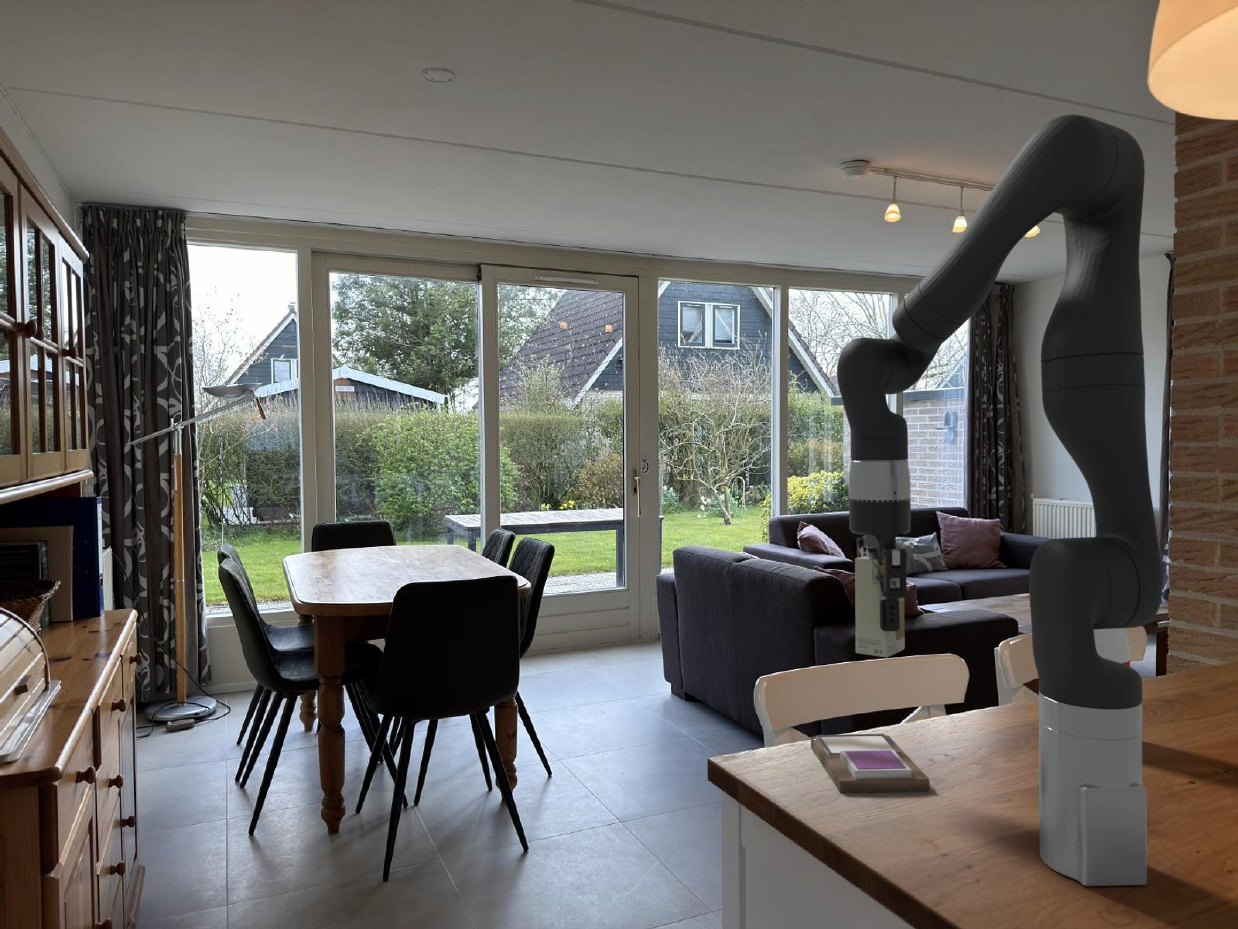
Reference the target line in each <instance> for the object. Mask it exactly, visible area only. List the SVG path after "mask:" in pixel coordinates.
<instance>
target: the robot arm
mask: <svg viewBox="0 0 1238 929" xmlns="http://www.w3.org/2000/svg"><path fill="white" fill-rule="evenodd" d="M1145 166H1146V165H1145V158H1144V154H1143V150H1142V148H1141V146H1140V144H1139V143H1138V141H1137V139H1136V137H1134V136H1132V135H1131V134H1130V133H1129V132H1128V131H1127V130H1125V129H1123V128H1120V127H1117V126H1116V125H1113V124H1112V125H1111V124H1109V123H1106V122H1103V121H1101V120H1097V119H1095V118H1093V117H1089V116H1085V115H1080V114H1064V115H1060V116H1058V117H1055V118H1053V119H1052V120H1050V121H1047V122H1046V123H1045V124H1043V125H1041V127H1040V128H1038V129H1037V130H1036V131H1035V132H1034V133H1033V134H1032V135H1031V137H1030V138H1029V139H1028V140H1027V141H1026V142H1025V144H1023V146H1022V147H1021V149H1020V150H1019V151H1018V153H1016V155H1015V157H1014V158H1013V160H1012V161H1011V162H1010V164H1009V165H1008V167H1007V168H1006V170H1005V171H1004V172H1003V174H1002V176H1001V177H1000V179H998V182H996V184H995V186H994V187H993V189H992V190H991V191H990V193H989V195H988V196H987V197H986V199H985V200H984V202H982V204H981V206H980V207H979V208H978V210H977V211H976V212H975V214H974V215H973V217H972V219H971V220H970V222H969V223H968V224H967V226H966V227H965V228H964V230H963V231H962V233H961V234H960V235H959V237H958V238H957V240H955V242H954V244H952V246H951V247H950V248H949V249H948V251H947V252H946V253H945V255H944V256H943V257H942V258H941V259H940V260H939V261H938V263H937V264H936V265H934V267H933V268H932V269H931V271H929V272H928V273H927V274H926V275H925V277H924V278H923V279H922V280H921V281H920V282H919V283H918V284H917V285H916V286H914V288H913V289H912V290H911V291H910V292H909V293H908V295H906V297H905V298H904V299H903V300H901V301H900V303H899V304H898V306H897V307H896V308H895V309H894V311H893V314H892V318H891V323H892V328H894V329H893V330H894V332H895V334H893V335H892V336H891V337H889V338H876V337H875V338H874V337H857V338H854V339H852V340H851V341H850V340H849V342H848V343H847V344H846V345H845V346H844V347H843V348H842V350H841V352H840V354H839V357H838V361H837V364H836V365H837V366H836V378H837V379H836V380H837V384H838V390H839V392H840V393H839V394H840V397H841V401H842V404H843V408H844V412H845V416H846V419H847V422H848V425H849V429H850V467H849V474H848V475H849V476H848V511H849V512H848V515H849V516H848V517H849V518H848V519H849V520H848V522H849V523H848V524H849V525H848V526H849V527H848V528H849V530H850V532H851V533H853V534H856V535H857V534H858V535H864V537H857V538H856V558H860V557H863V556H866V557H867V558H868V559H869V560H874V559H877V560H878V564H879V565H883V575H880V574H879V573H878V569H877V565H876V564H875V563H874V562H873V561H872V580H873V583H874V584H875V585H877V586H878V591H879V598H880V628H881V629H882V630H883V631H898V630H899V628H900V611H899V601H901V600H902V598H904V599H906V598H907V594H908V593H907V550H906V548H898V544H897V536H898V535H906V534H908V533H910V532H911V531H912V530H911V529H912V528H911V525H912V524H911V523H912V522H911V520H912V518H911V517H912V516H911V514H912V513H911V512H912V511H911V508H912V507H911V499H912V498H911V474H910V468H909V467H910V466H909V460H908V459H909V437H908V436H909V435H908V434H909V433H908V423H907V420H906V418H905V417H903V416H902V415H900V414H898V413H896V412H893V411H891V410H890V407H889V405H888V404H889V403H888V401H887V398H886V395H896V394H901V393H903V392H905V391H907V390H908V389H910V388H911V387H912V386H914V385H915V384H916V383H918V382H919V380H920V379H921V378H922V377H923V376H924V374H925V373H926V370H927V369H928V368H929V366H930V364H932V362H933V360H934V358H935V357H936V355H937V353H938V352H939V350H940V348H941V346H942V345H943V343H945V342H946V341H947V340H948V339H949V338H950V337H951V336H952V335H953V334H955V333H956V332H957V331H959V330H958V329H960V328H961V327H962V326H963V325H964V324H965V323H966V322H967V321H969V319H970V318H971V317H972V316H973V315H974V314H975V313H976V312H977V311H978V310H979V309H980V308H981V306H982V305H983V304H984V302H985V300H986V299H987V298H988V296H989V294H990V293H991V291H992V288H993V286H994V284H995V282H996V279H997V277H998V276H999V273H1000V271H1001V269H1002V266H1003V265H1004V263H1005V261H1006V259H1007V258H1008V256H1009V255H1010V253H1011V252H1012V250H1013V249H1014V248H1015V246H1016V245H1017V244H1018V243H1019V242H1020V241H1021V240H1022V239H1023V238H1024V237H1025V236H1026V235H1027V234H1028V233H1029V232H1030V231H1031V230H1033V229H1034V228H1035V227H1037V226H1038V225H1039V224H1040V223H1042V222H1043V221H1045V219H1047V218H1048V217H1049V216H1051V215H1053V214H1054V213H1055V214H1058V215H1062V219H1063V225H1064V231H1065V232H1064V233H1065V250H1066V265H1065V266H1066V267H1065V276H1064V279H1063V284H1062V287H1061V289H1060V293H1059V295H1058V297H1057V300H1056V302H1055V305H1054V307H1053V310H1052V312H1051V314H1050V317H1049V319H1048V322H1047V325H1046V328H1045V329H1044V330H1045V331H1044V334H1043V338H1042V342H1041V348H1040V364H1041V365H1040V376H1041V400H1042V407H1043V411H1044V414H1045V417H1046V419H1047V421H1048V423H1049V425H1050V427H1051V429H1052V431H1053V432H1054V433H1055V435H1056V437H1057V439H1058V440H1059V442H1061V444H1062V446H1063V448H1064V449H1065V450H1066V451H1067V452H1066V453H1068V455H1069V456H1070V457H1071V459H1072V460H1073V462H1074V463H1075V465H1076V466H1077V468H1078V470H1079V471H1080V473H1081V474H1082V476H1083V478H1084V480H1085V482H1086V485H1087V487H1088V490H1089V493H1090V496H1091V501H1092V505H1093V513H1094V520H1095V536H1089V537H1088V536H1086V537H1060V538H1052V539H1048V540H1046V541H1044V542H1042V543H1040V545H1039V546H1038V547H1037V548H1036V550H1035V551H1034V553H1033V556H1032V557H1031V563H1030V567H1029V573H1028V574H1029V578H1028V591H1029V593H1028V595H1029V605H1030V606H1029V608H1030V618H1031V620H1030V621H1031V640H1032V642H1031V643H1032V653H1033V654H1032V655H1033V660H1034V664H1035V668H1036V671H1037V676H1038V780H1039V781H1038V789H1039V792H1038V796H1039V797H1038V799H1039V800H1038V801H1039V805H1038V807H1039V808H1038V809H1039V811H1038V812H1039V856H1040V859H1041V860H1042V862H1043V863H1044V864H1045V865H1046V866H1047V867H1048V868H1051V869H1052V870H1054V872H1057V873H1060V875H1063V876H1067V877H1068V878H1071V879H1073V880H1076V881H1078V882H1079V883H1080V884H1081V885H1083V886H1085V887H1096V886H1097V887H1100V886H1101V887H1104V886H1145V885H1147V884H1148V881H1147V880H1148V879H1147V878H1148V876H1147V875H1148V873H1147V872H1148V870H1147V869H1148V867H1147V866H1148V862H1147V861H1148V853H1147V852H1148V849H1147V848H1148V846H1147V845H1148V842H1147V841H1148V840H1147V839H1148V838H1147V833H1148V832H1147V831H1148V829H1147V828H1148V826H1147V824H1148V822H1147V818H1148V817H1147V816H1148V815H1147V812H1148V810H1147V808H1148V806H1147V803H1148V802H1147V800H1148V798H1147V797H1148V796H1147V795H1148V794H1147V793H1148V792H1147V789H1146V788H1145V787H1144V786H1143V680H1142V677H1141V675H1140V673H1139V672H1138V671H1137V670H1136V669H1135V668H1132V667H1131V666H1130V667H1129V666H1126V665H1124V664H1121V663H1118V662H1115V661H1112V660H1108V659H1105V658H1103V657H1101V656H1100V655H1099V654H1098V653H1097V650H1096V645H1095V637H1094V630H1095V629H1116V628H1119V629H1120V628H1125V629H1132V628H1133V629H1134V628H1140V627H1143V626H1146V625H1148V624H1149V623H1150V622H1152V620H1154V618H1155V617H1156V615H1157V614H1158V611H1159V609H1160V607H1161V604H1162V597H1163V586H1164V585H1163V584H1164V578H1163V566H1162V557H1161V551H1160V545H1159V544H1160V543H1159V537H1158V530H1157V524H1156V517H1155V511H1154V505H1153V498H1152V490H1151V485H1150V474H1149V473H1150V472H1149V458H1148V448H1147V430H1146V429H1147V428H1146V427H1147V426H1146V376H1145V374H1146V373H1145V352H1144V342H1143V329H1142V295H1141V292H1142V291H1141V275H1140V273H1141V272H1140V244H1141V243H1140V242H1141V231H1142V229H1141V228H1142V217H1143V205H1144V204H1143V202H1144V191H1145V175H1146V174H1145V172H1146V171H1145V170H1146V169H1145ZM890 584H892V585H893V587H894V588H890Z"/></svg>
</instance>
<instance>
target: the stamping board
mask: <svg viewBox="0 0 1238 929" xmlns="http://www.w3.org/2000/svg"><path fill="white" fill-rule="evenodd" d="M814 739H816V740H814ZM810 748H811V750H812V751H813V753H814V754H815V756H816V757H817V759H818V761H819V762H820V764H821V765H822V767H823V768H824V770H825V772H826V773H827V775H828V776H829V778H830V779H831V780H832V782H833V784H834V785H835V787H836V788H837V790H838V792H839V793H841V794H842V793H843V794H845V793H846V794H847V793H849V794H850V793H853V794H854V793H898V792H900V793H901V792H903V793H904V792H906V793H907V792H930V778H929V777H928V776H927V775H926V774H925V772H923V771H922V770H921V769H920V767H919V766H918V765H917V764H916V763H915V762H914V761H913V760H912V759H911V758H910V756H908V754H906V753H905V751H904V750H903V749H902V748H901V747H900V746H899V745H898V744H897V742H895V741H894V740H893V739H892V737H891V736H890V735H887V734H885V733H858V734H857V733H856V734H854V733H853V734H852V733H851V734H849V733H848V734H815V736H810Z"/></svg>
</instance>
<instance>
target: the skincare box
mask: <svg viewBox="0 0 1238 929" xmlns="http://www.w3.org/2000/svg"><path fill="white" fill-rule="evenodd" d="M872 561H873V562H874V563H875V564H876V565H877V569H878V573H879V574H880V575H883V565H879V564H878V560H877V559H874V560H869V559H868V558H867V557H866V556H863V557H860V558H857V557H855V559H854V562H855V563H854V566H855V567H854V568H855V569H854V570H855V573H854V574H855V577H854V581H855V583H854V585H855V587H854V589H855V590H854V591H855V599H854V600H855V601H854V602H855V603H854V604H855V653H856V654H862V655H866V656H867V655H868V656H869V655H870V656H873V657H874V656H875V657H879V658H880V657H881V658H888V657H891V656H893V655H895V654H897V653H900V652H901V651H903V650H906V649H905V648H906V647H905V642H906V640H905V638H906V637H905V633H906V632H905V626H906V625H905V598H902V600H901V601H899V611H900V628H899V630H898V631H883V630H882V629H881V628H880V598H879V591H878V586H877V585H875V584H874V583H873V580H872ZM890 588H894V587H893V585H892V584H890Z"/></svg>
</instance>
